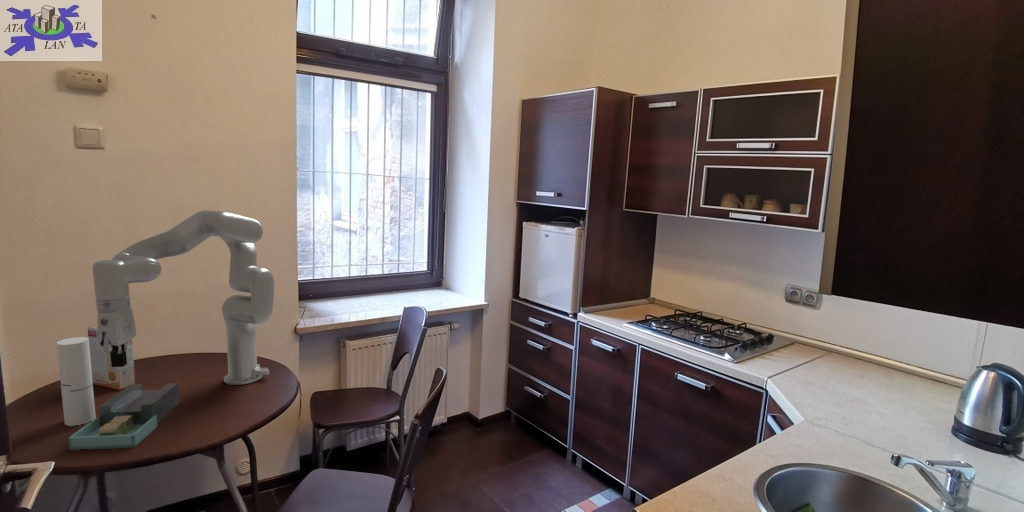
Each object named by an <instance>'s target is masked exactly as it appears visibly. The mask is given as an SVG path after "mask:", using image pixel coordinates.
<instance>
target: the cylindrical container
mask: <svg viewBox="0 0 1024 512" xmlns="http://www.w3.org/2000/svg"><path fill="white" fill-rule="evenodd" d="M56 350H57V360H58V370H59V371H58V372H59V380H60V389H61V399H62V400H61V401H62V409H63V411H62V413H63V419H64V420H63V421H64V425H65V426H66V425H68V426H67V427H76V426H75V425H78V426H82V425H81V424H83V425H86V424H88V422H89V423H90V421H92V420H94V419H95V418H97V417H96V408H95V407H96V406H95V405H96V404H95V396H94V384H93V383H92V371H91V360H90V349H89V339H88V337H86V336H78V337H77V336H76V337H69V338H65V339H61V340H59V341H57V342H56ZM85 423H86V424H85Z"/></svg>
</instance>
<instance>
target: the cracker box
mask: <svg viewBox="0 0 1024 512" xmlns="http://www.w3.org/2000/svg"><path fill="white" fill-rule="evenodd" d="M87 338H88V339H89V349H90V360H91V371H92V383H93V385H96V386H100V387H104V388H105V387H106V388H108V389H113V390H118V391H121V390H123V389H125V388H126V387H128V386H129V385H131V384H136V376H135V361H134V349H133V348H134V347H133V338H132V339H131V340H129V341H128V342H127V350H126V356H127V365H125V366H123V367H112V365H111V355H110V354H109V352H104V351H103V348H104V346H100V345H99V341H98V331H97V325H94V326H89V327H87ZM124 352H125V351H124Z"/></svg>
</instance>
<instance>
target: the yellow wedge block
mask: <svg viewBox="0 0 1024 512" xmlns="http://www.w3.org/2000/svg"><path fill="white" fill-rule="evenodd" d="M116 422H123V433H124V435H127V434H128V433H129V432H130V431H131V430H132V429H133V422H132V415H128V416H116V417H115V418H114V419H113V420H112V421H110V422H109V423H116Z"/></svg>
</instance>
